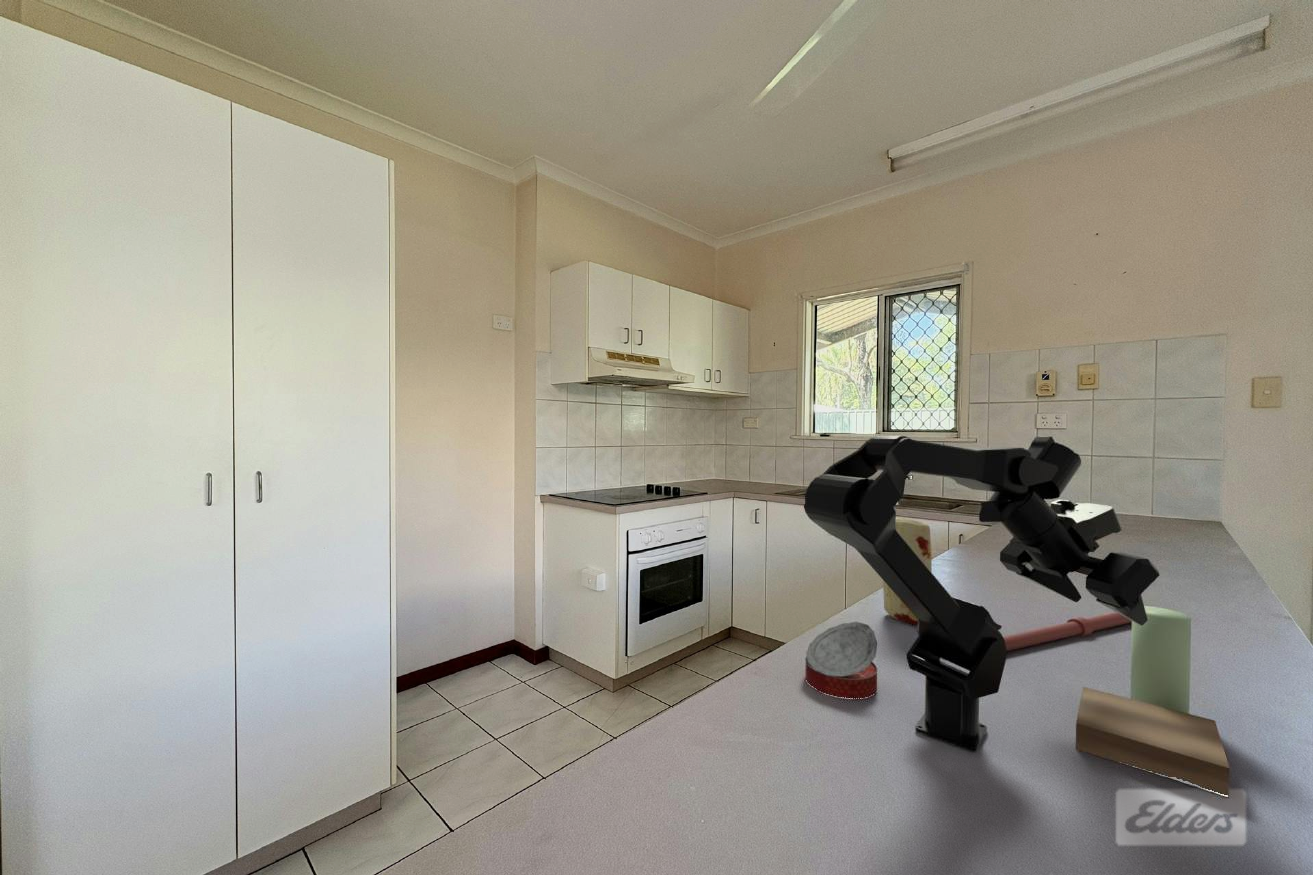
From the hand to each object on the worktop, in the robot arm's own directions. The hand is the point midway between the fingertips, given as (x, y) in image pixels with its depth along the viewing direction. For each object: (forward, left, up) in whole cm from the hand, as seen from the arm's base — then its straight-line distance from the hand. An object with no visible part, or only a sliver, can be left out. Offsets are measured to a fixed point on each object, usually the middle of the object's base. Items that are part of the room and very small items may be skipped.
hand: (1108, 610), depth 69 cm
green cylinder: (+4, -5, -13) cm, 15 cm away
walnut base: (-8, -4, -13) cm, 16 cm away
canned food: (-17, +29, -14) cm, 36 cm away
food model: (+17, +30, -13) cm, 37 cm away
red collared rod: (+27, +7, -14) cm, 31 cm away
